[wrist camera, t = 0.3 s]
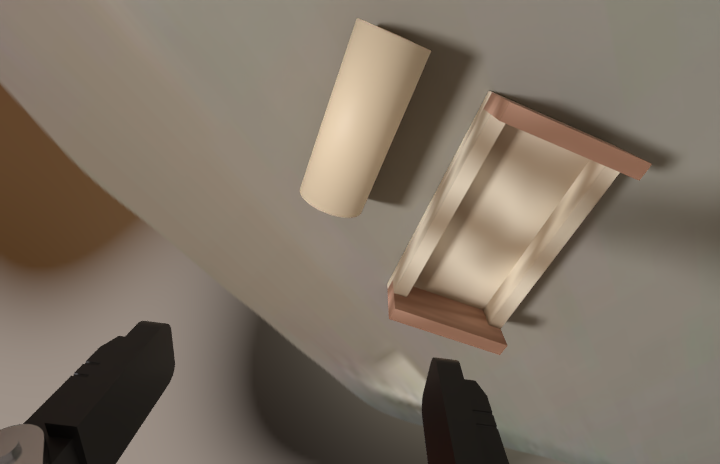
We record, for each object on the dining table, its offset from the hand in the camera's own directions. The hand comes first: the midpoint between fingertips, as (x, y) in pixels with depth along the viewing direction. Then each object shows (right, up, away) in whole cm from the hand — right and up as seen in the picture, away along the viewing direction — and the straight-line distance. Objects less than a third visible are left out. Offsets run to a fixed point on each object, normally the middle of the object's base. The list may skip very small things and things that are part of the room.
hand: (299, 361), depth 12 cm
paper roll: (+2, +11, +15) cm, 18 cm away
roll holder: (+13, +5, +20) cm, 24 cm away
